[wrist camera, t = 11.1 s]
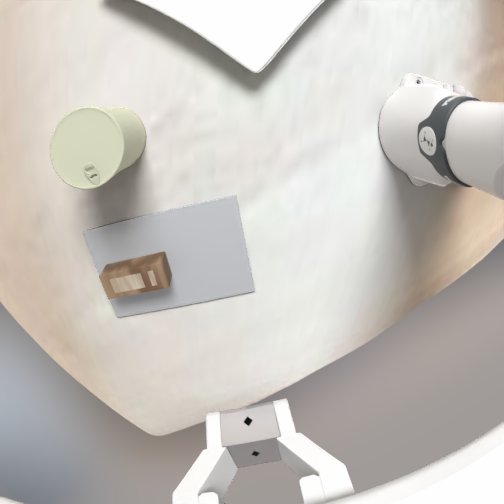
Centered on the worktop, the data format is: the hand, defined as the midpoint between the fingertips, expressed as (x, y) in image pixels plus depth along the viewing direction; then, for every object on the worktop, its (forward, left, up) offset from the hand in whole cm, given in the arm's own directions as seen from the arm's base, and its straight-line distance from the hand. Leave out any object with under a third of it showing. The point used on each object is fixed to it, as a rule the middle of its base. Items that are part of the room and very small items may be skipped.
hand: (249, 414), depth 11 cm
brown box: (+10, +10, -35) cm, 37 cm away
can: (+13, -10, -37) cm, 41 cm away
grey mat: (+10, +10, -37) cm, 40 cm away
